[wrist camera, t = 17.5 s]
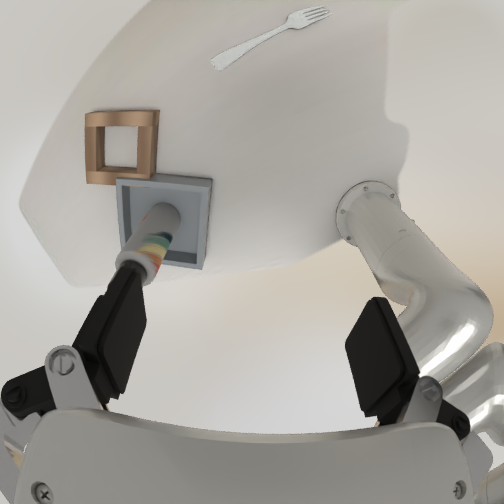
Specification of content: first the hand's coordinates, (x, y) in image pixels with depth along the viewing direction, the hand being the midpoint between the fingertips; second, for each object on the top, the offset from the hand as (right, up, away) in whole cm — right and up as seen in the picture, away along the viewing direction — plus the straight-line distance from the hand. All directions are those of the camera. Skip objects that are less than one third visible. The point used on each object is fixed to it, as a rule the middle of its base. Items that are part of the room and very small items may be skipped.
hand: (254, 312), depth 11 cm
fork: (+3, +34, +20) cm, 39 cm away
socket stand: (-21, +20, +28) cm, 40 cm away
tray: (-15, +9, +35) cm, 39 cm away
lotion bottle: (-15, +8, +35) cm, 39 cm away
